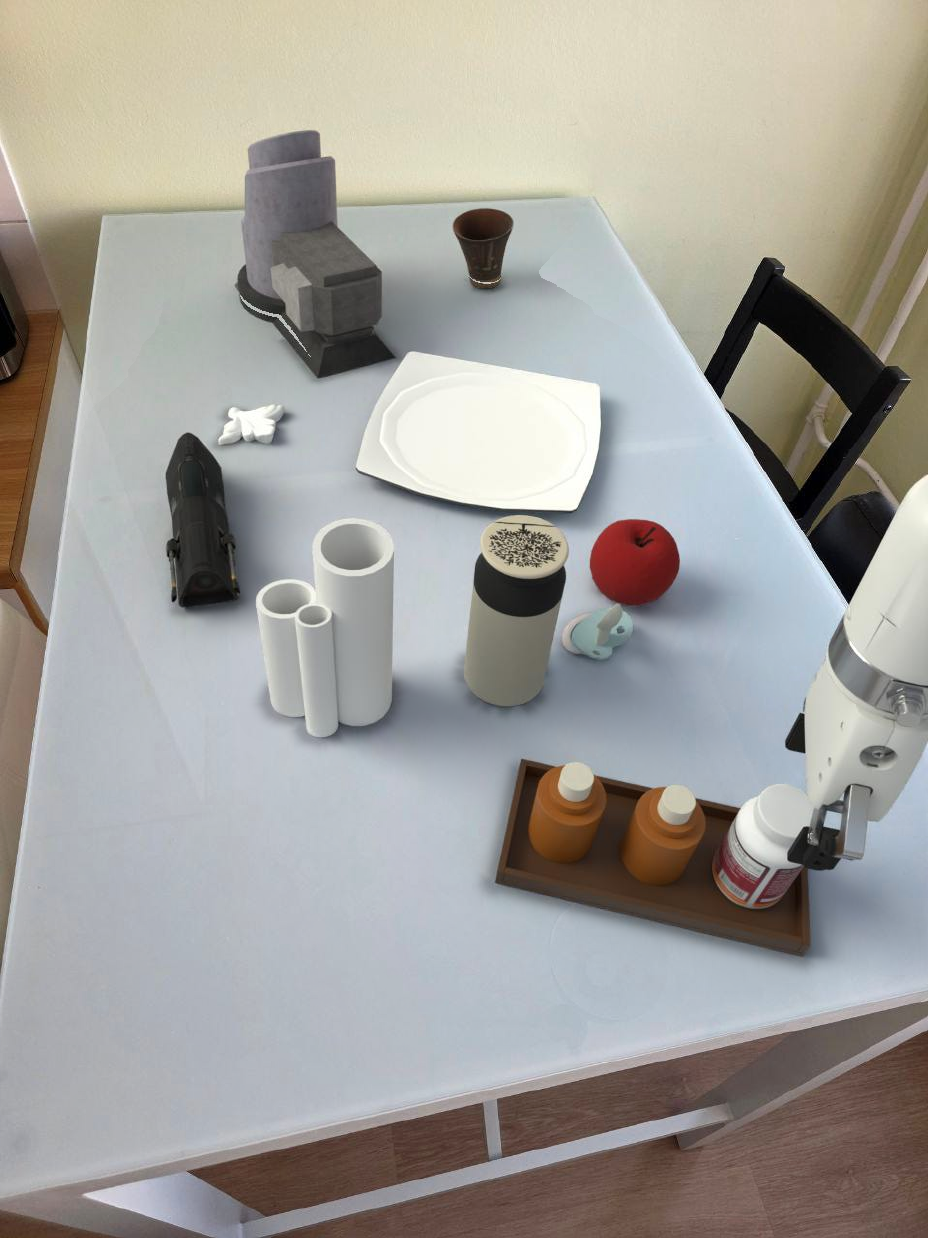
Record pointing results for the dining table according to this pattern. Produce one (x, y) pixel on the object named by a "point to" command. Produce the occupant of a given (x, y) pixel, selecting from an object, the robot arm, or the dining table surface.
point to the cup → (483, 243)
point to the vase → (333, 631)
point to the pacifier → (597, 632)
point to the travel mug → (514, 608)
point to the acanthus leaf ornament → (252, 424)
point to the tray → (618, 890)
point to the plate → (484, 435)
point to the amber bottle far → (566, 812)
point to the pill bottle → (762, 847)
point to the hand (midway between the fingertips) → (806, 803)
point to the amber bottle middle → (662, 834)
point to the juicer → (307, 258)
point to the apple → (634, 561)
